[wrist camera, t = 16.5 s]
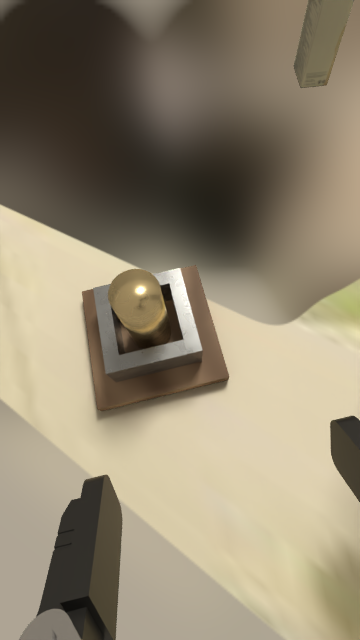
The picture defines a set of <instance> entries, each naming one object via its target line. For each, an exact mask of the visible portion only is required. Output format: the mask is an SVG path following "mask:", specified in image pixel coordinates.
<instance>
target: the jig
mask: <svg viewBox="0 0 360 640" xmlns="http://www.w3.org/2000/svg"><path fill="white" fill-rule="evenodd" d="M153 275H154V276H155V277H156V279H157V280H158V282H159V284H160V288H161V291H162V295H163V299H164V303H165V306H166V310H167V314H168V318H169V322H170V325H171V337H170V339H169V341H168V343H167V344H163V345H159V346H155V347H151V348H147V349H141V348H140V347H138V346H137V345H136V343H135V342H134V340H133V339H132V337H131V336H130V334H129V333H128V331H127V330H126V328H125V327H124V325H123V324H122V322H121V321H120V319H119V318H118V316H117V314H116V313H115V311H114V310H113V308H112V307H111V305H110V303H109V300H108V290H109V287H110V285H111V284H109V285H104V286H100V287H96V288H93V289H91V290H87V291H83V292H82V296H83V303H84V311H85V318H86V326H87V334H88V341H89V349H90V356H91V364H92V372H93V379H94V387H95V394H96V402H97V409H98V410H100V411H104V410H108V409H112V408H116V407H120V406H124V405H128V404H132V403H136V402H140V401H144V400H148V399H152V398H156V397H160V396H165V395H169V394H173V393H177V392H181V391H185V390H189V389H193V388H197V387H201V386H205V385H209V384H213V383H217V382H221V381H225V380H228V379H229V374H228V371H227V368H226V364H225V361H224V357H223V354H222V351H221V347H220V344H219V341H218V337H217V334H216V331H215V327H214V324H213V320H212V317H211V314H210V310H209V307H208V304H207V300H206V297H205V294H204V290H203V287H202V283H201V280H200V277H199V273H198V270H197V267H196V265H194V266H190V267H185V268H181V269H180V268H177V269H173V270H169V271H164V272H160V273H156V274H153Z"/></svg>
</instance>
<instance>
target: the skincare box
mask: <svg viewBox="0 0 360 640" xmlns="http://www.w3.org/2000/svg"><path fill="white" fill-rule="evenodd" d="M353 2H354V0H308V4H307V9H306V13H305V18H304V22H303V27H302V31H301V36H300V41H299V45H298V49H297V54H296V58H295V62H294V69H295V73H296V76H297V79H298V82H299V85H300V87H301V88H305V87H316V86H324V85H327V83H328V80H329V76H330V73H331V70H332V67H333V64H334V61H335V58H336V55H337V51H338V48H339V45H340V42H341V39H342V36H343V33H344V30H345V27H346V23H347V21H348V17H349V14H350V11H351V8H352V5H353Z"/></svg>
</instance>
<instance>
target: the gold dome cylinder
mask: <svg viewBox="0 0 360 640" xmlns="http://www.w3.org/2000/svg"><path fill="white" fill-rule="evenodd" d="M108 300H109V303H110V305H111V307H112V308H113V310H114V311H115V313H116V314H117V316H118V318H119V319H120V321H121V322H122V324H123V325H124V327H125V328H126V330H127V331H128V333H129V334H130V336H131V337H132V339H133V340H134V342H135V343H136V345H137V346H138V347H140V348H141V349H147V348H151V347H155V346H159V345H163V344H167V343H168V341H169V339H170V337H171V325H170V322H169V318H168V314H167V310H166V306H165V303H164V299H163V295H162V291H161V288H160V284H159V282H158V280H157V279H156V277H155V276H154V275H153V274H151V273H150V272H148V271H145V270H141V269H132V270H127V271H125V272H123V273H121V274H119V275H118V276H117V277H116V278H115V279H114V280H113V281H112V283H111V285H110V287H109V290H108Z"/></svg>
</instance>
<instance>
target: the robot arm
mask: <svg viewBox="0 0 360 640" xmlns="http://www.w3.org/2000/svg"><path fill="white" fill-rule="evenodd" d="M330 431H331V455H332V459H333V462H334V464H335V466H336V468H337V470H338V471H339V473H340V474H341V476H342V477H343V479H344V480H345V482H346V483H347V485H348V486H349V487H350V489H351V490H352V492H353V493H354V495H355V496H356V498H357V499H358V500H359V502H360V421H359V419H358V418H356V417H355V416H349V417H345V418H341V419H336V420H332V421H331V423H330ZM121 536H122V513H121V506H120V503H119V500H118V498H117V495H116V493H115V491H114V488H113V486H112V483H111V481H110V478H109V476H108V475H103V476H98V477H94V478H90V479H86V480H85V481H84V484H83V488H82V493H81V498H79V499H74V500H71V502H70V503H69V505H68V507H67V508H66V510H65V512H64V513H63V515H62V517H61V522H60V526H59V530H58V536H57V538H56V542H55V546H54V548H55V550H54V551H53V555H52V559H51V563H50V567H49V571H48V575H47V580H46V583H45V588H44V592H43V596H42V600H41V604H40V608H39V611H38V614H37V616H36V618H35V619H34V620H33V621H32V622H31V623H30V624H29V625H28V626H27V628H26V629H25V630H24V632H23V634H22V635H21V637H20V639H19V640H115V639H116V621H117V605H118V604H117V603H118V588H119V571H120V553H121Z"/></svg>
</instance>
